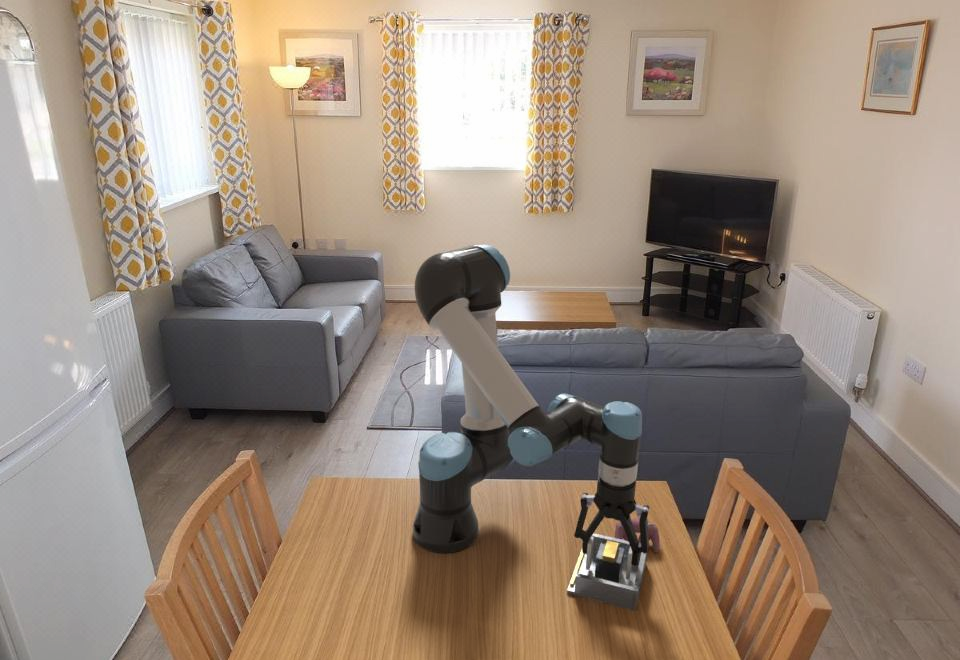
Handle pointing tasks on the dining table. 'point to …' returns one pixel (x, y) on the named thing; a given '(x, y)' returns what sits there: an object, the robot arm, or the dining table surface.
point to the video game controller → (652, 532)
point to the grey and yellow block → (609, 562)
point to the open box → (603, 589)
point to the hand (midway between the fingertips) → (608, 570)
